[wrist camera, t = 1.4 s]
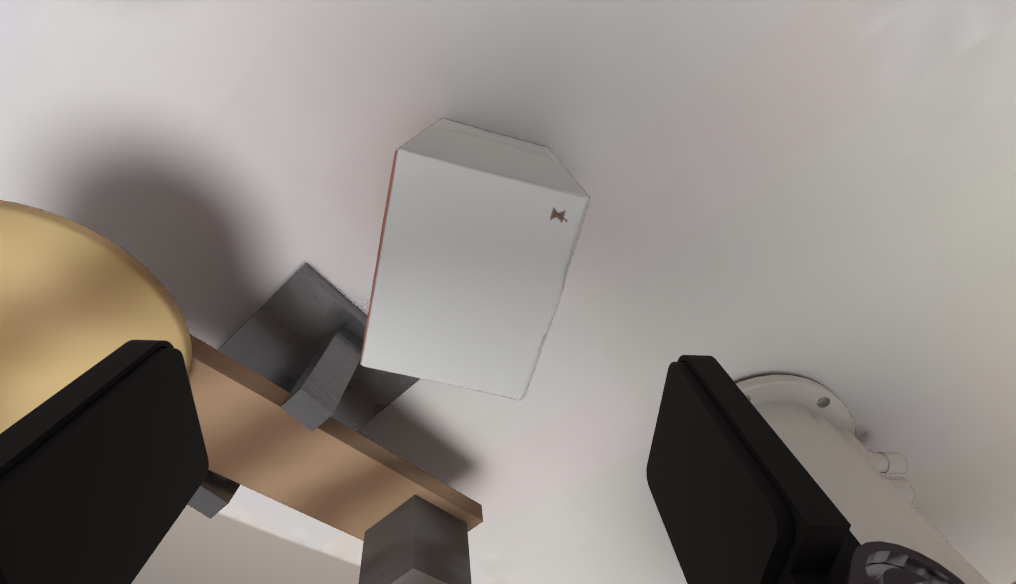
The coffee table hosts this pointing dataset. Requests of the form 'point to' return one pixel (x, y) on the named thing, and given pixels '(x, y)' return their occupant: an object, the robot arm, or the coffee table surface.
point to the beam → (215, 400)
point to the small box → (471, 259)
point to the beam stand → (307, 365)
